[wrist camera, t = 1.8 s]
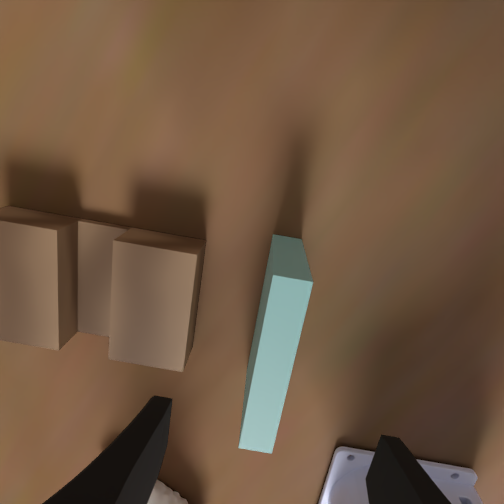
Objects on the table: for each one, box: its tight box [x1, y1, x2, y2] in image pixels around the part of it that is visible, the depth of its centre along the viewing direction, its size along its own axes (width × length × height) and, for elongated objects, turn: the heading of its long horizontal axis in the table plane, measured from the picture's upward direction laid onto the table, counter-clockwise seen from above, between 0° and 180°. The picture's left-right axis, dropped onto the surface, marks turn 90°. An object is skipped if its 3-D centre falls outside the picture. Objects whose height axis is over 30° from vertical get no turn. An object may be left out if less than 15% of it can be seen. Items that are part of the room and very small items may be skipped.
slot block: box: [0, 206, 206, 372], centre depth 20 cm, size 11×7×2 cm, turn 81°
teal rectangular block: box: [239, 234, 313, 454], centre depth 18 cm, size 2×9×6 cm, turn 171°
